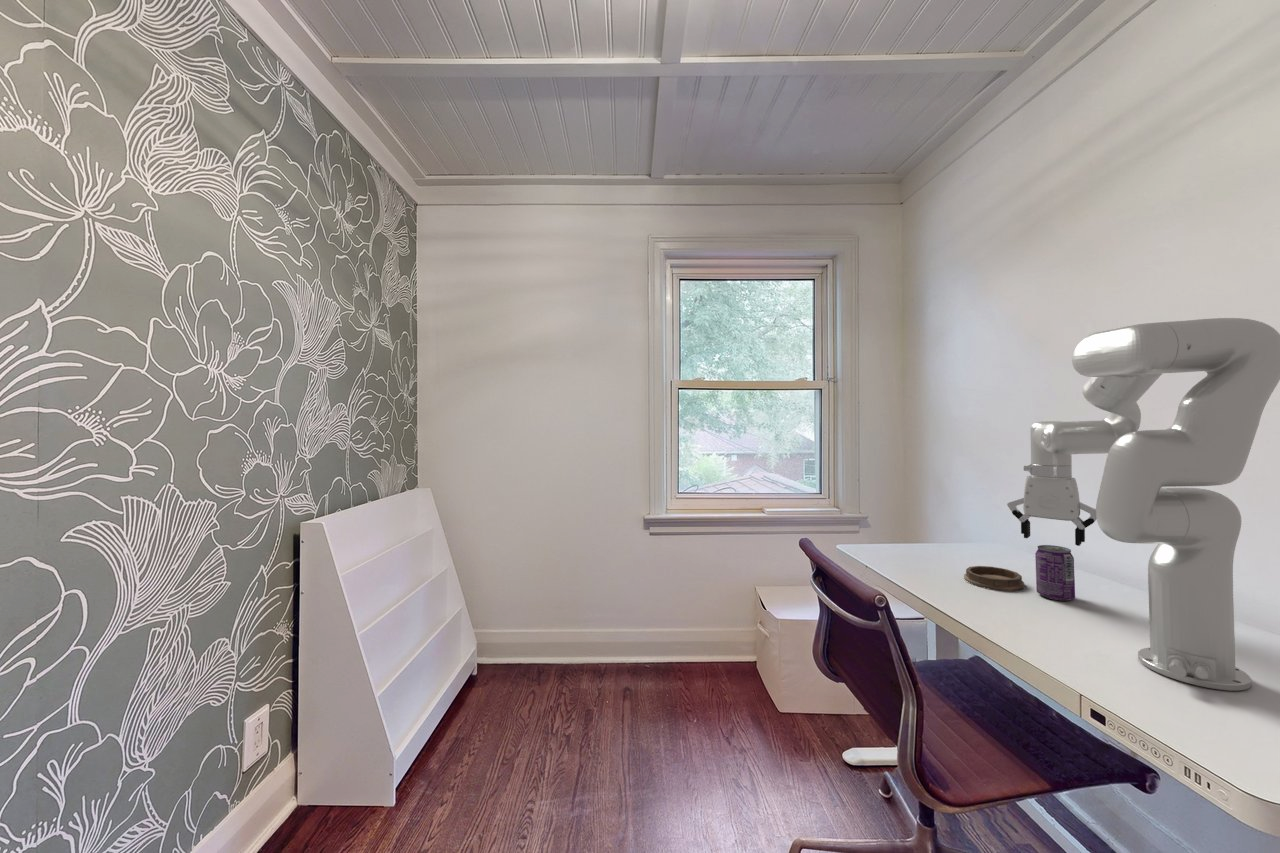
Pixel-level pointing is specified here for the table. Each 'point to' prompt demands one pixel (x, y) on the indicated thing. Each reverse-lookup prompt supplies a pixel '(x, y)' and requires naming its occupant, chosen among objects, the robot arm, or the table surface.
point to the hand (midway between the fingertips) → (1052, 540)
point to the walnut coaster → (994, 578)
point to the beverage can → (1055, 572)
